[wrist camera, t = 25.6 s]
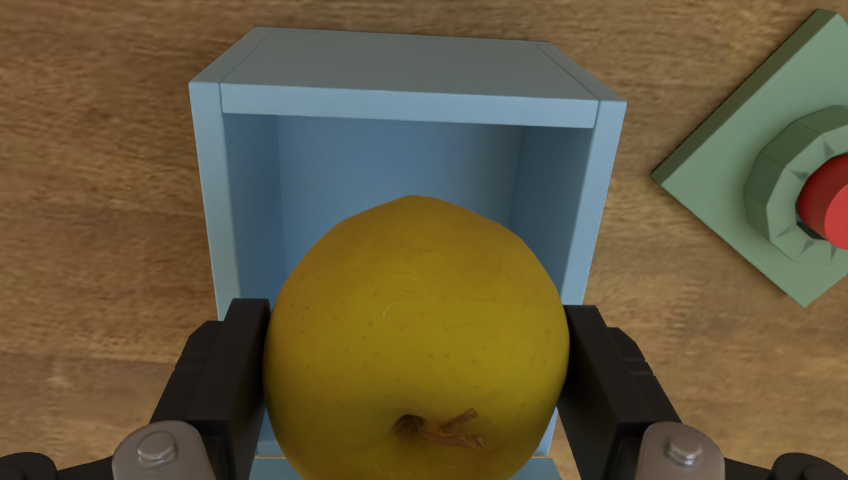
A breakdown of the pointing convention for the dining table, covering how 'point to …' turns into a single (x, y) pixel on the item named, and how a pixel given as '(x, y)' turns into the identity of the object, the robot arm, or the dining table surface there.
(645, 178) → the dining table surface
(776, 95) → the green button base
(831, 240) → the button
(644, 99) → the dining table surface
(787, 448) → the dining table surface
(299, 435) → the apple
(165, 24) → the dining table surface
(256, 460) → the lid
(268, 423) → the box
